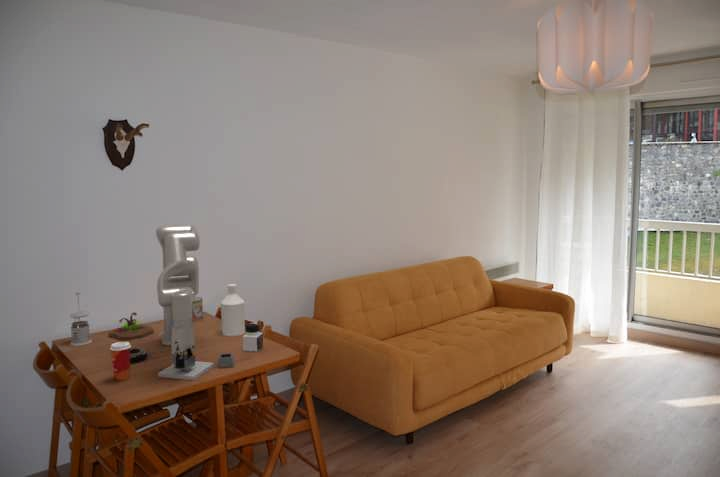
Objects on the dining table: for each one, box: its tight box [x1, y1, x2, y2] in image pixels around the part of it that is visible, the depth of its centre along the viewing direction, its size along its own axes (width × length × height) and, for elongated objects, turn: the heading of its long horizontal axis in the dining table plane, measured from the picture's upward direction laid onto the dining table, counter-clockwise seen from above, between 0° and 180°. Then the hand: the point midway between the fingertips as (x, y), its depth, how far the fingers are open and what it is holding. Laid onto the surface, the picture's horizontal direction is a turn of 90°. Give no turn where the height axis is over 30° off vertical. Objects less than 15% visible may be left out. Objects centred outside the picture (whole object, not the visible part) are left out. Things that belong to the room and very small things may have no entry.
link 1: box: [173, 354, 196, 370], centre depth 221 cm, size 6×6×4 cm
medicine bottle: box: [242, 322, 264, 353], centre depth 252 cm, size 7×7×12 cm
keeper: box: [157, 350, 215, 381], centre depth 224 cm, size 16×16×10 cm
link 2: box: [217, 352, 235, 369], centre depth 232 cm, size 6×6×4 cm
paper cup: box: [109, 341, 132, 382], centre depth 216 cm, size 8×8×14 cm
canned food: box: [192, 295, 204, 323], centre depth 302 cm, size 11×11×12 cm
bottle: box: [220, 283, 246, 337], centre depth 276 cm, size 12×12×25 cm
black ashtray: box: [130, 347, 148, 364], centre depth 239 cm, size 12×12×4 cm
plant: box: [107, 312, 155, 342], centre depth 276 cm, size 20×20×11 cm
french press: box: [69, 291, 93, 347], centre depth 262 cm, size 10×12×25 cm
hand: (184, 364), depth 221 cm, fingers closed on link 1, 6 cm apart
